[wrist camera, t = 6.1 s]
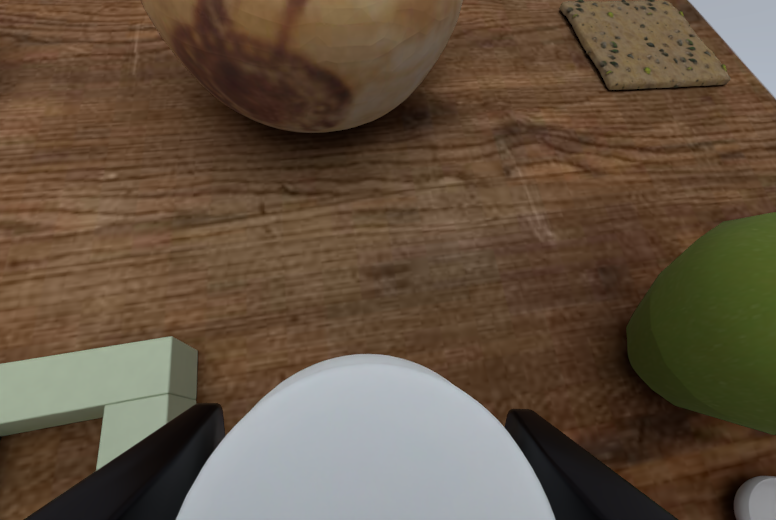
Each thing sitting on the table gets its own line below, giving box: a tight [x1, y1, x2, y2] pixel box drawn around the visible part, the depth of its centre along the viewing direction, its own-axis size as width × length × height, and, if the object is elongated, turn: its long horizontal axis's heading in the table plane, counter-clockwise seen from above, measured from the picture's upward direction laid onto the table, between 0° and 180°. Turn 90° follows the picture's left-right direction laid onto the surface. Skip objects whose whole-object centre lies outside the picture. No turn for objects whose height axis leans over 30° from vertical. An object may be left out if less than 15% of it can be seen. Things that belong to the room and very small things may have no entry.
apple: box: [626, 212, 776, 435], centre depth 15 cm, size 9×8×12 cm
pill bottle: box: [176, 354, 555, 520], centre depth 8 cm, size 5×5×10 cm
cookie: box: [559, 0, 730, 90], centre depth 33 cm, size 12×12×1 cm
